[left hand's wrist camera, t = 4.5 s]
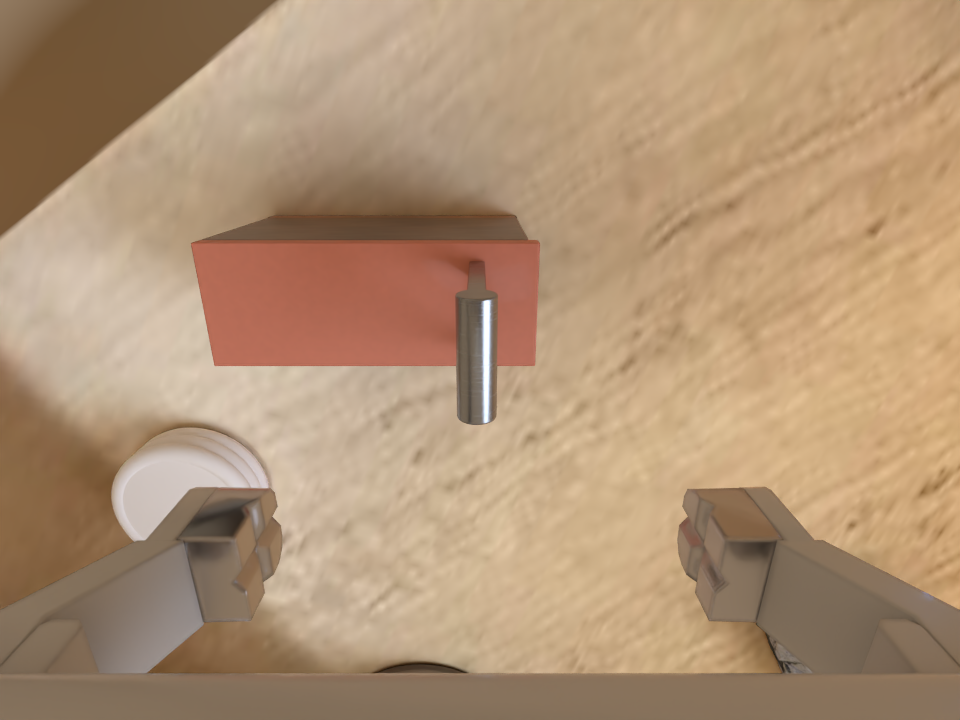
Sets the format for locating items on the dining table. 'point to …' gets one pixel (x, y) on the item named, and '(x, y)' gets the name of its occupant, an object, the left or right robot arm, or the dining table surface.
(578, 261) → the dining table surface
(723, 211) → the dining table surface
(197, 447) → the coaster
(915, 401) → the dining table surface
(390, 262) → the lid
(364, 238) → the chest
